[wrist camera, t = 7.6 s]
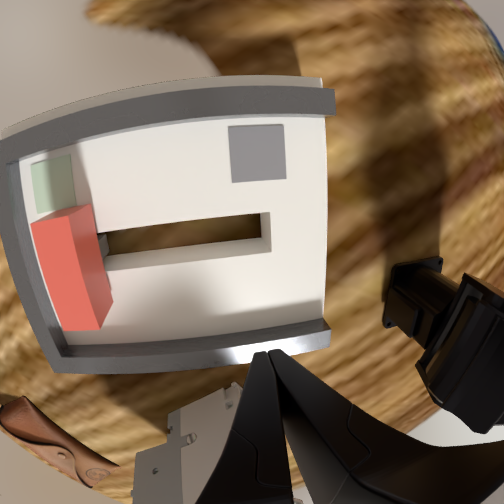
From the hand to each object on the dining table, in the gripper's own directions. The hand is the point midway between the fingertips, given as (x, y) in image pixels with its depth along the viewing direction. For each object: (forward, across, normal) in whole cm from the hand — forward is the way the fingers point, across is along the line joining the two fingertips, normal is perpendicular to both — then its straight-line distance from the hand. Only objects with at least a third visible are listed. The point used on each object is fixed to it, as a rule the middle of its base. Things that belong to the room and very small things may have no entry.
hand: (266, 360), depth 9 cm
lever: (+10, +9, -2) cm, 14 cm away
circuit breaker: (+12, +6, +19) cm, 23 cm away
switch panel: (+12, +4, -2) cm, 12 cm away
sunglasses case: (+12, +26, +24) cm, 38 cm away
